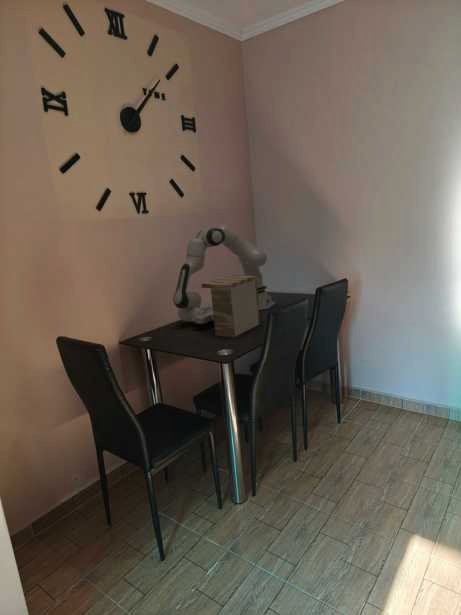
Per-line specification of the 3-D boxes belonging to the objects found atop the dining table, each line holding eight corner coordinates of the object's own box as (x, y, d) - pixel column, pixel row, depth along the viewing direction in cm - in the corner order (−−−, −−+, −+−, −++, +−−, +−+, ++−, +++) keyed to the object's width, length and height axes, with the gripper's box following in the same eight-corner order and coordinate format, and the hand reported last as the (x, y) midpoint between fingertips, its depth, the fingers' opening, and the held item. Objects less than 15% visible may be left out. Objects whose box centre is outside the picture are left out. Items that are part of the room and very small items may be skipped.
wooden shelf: (234, 321, 243) (230, 275, 237) (260, 323, 232) (256, 275, 226) (207, 334, 223) (201, 284, 216) (233, 337, 212) (228, 285, 206)
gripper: (188, 314, 231) (207, 316, 223) (211, 306, 247) (229, 307, 239) (190, 325, 233) (208, 327, 224) (212, 316, 248) (230, 317, 240)
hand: (219, 317), depth 232 cm, fingers closed
